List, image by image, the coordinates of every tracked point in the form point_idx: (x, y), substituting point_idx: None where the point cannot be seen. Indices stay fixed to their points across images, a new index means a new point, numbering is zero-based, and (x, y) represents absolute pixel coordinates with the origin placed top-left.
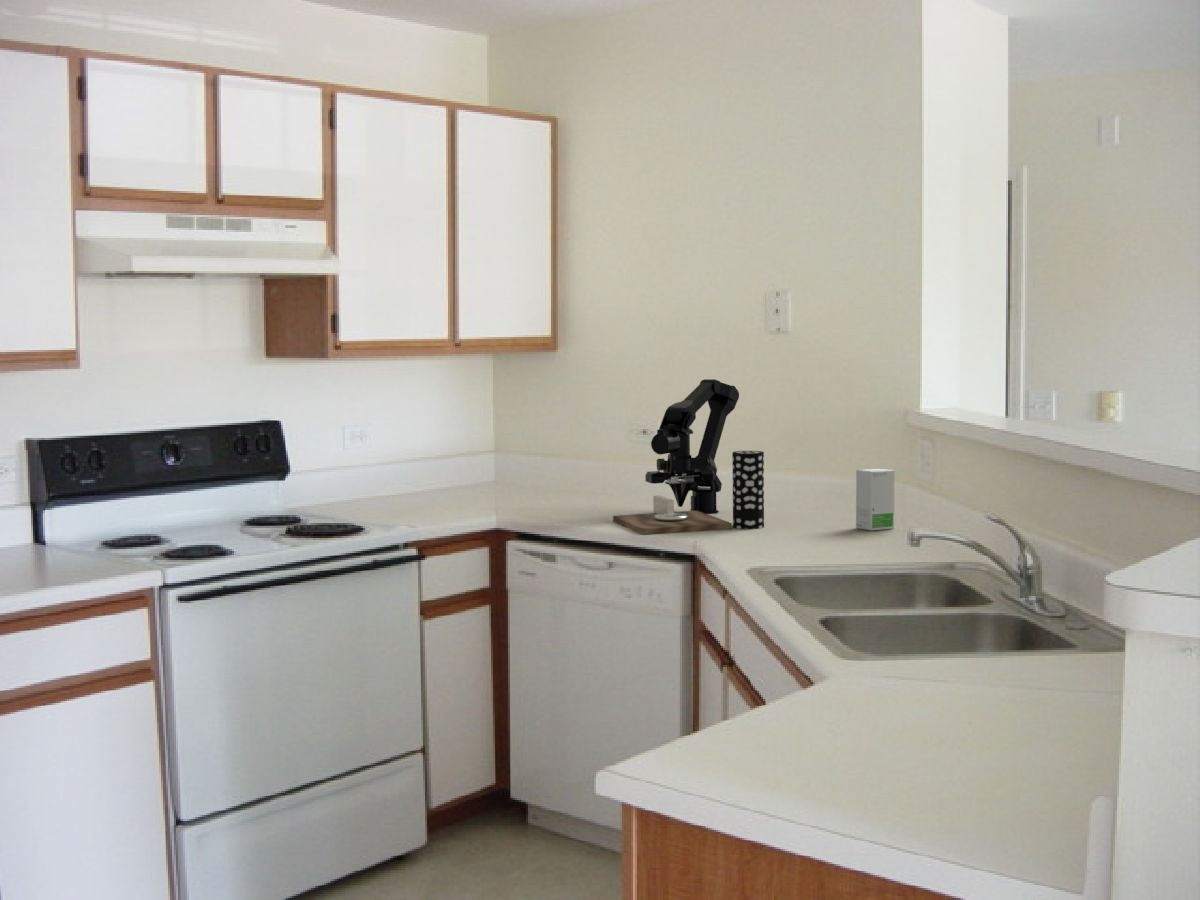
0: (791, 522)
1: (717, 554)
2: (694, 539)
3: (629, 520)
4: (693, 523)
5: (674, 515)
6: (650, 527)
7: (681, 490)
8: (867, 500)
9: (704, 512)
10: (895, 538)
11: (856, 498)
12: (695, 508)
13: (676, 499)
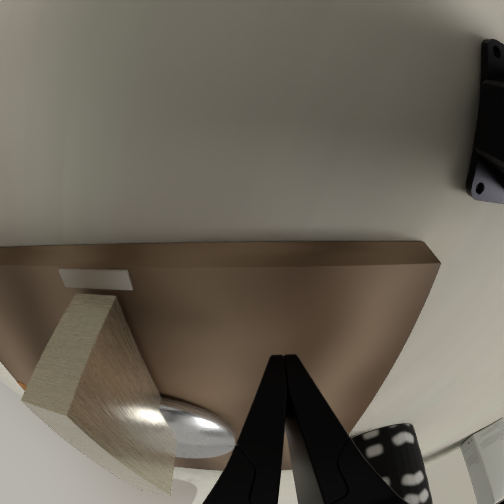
0: (479, 403)
1: (198, 496)
2: (192, 476)
3: (20, 376)
4: (223, 462)
5: (177, 442)
6: None
7: (308, 496)
8: (472, 476)
9: (495, 201)
10: (432, 464)
11: (484, 469)
12: (492, 159)
13: (251, 412)
